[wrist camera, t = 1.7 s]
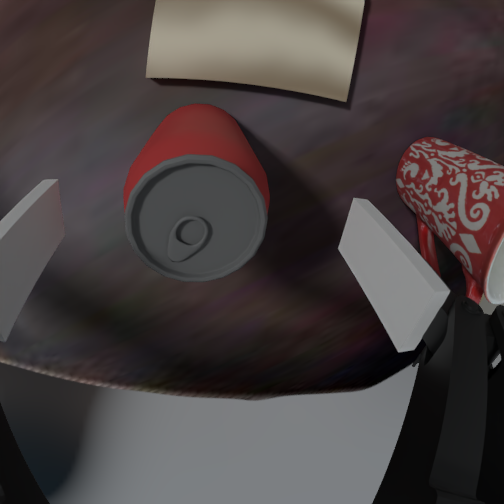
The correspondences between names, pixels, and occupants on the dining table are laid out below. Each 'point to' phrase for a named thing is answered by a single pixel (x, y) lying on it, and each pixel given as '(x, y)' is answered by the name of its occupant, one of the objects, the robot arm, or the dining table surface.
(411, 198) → the mug
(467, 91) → the dining table surface
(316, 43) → the beige green bent panel
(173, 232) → the beer can
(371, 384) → the dining table surface
